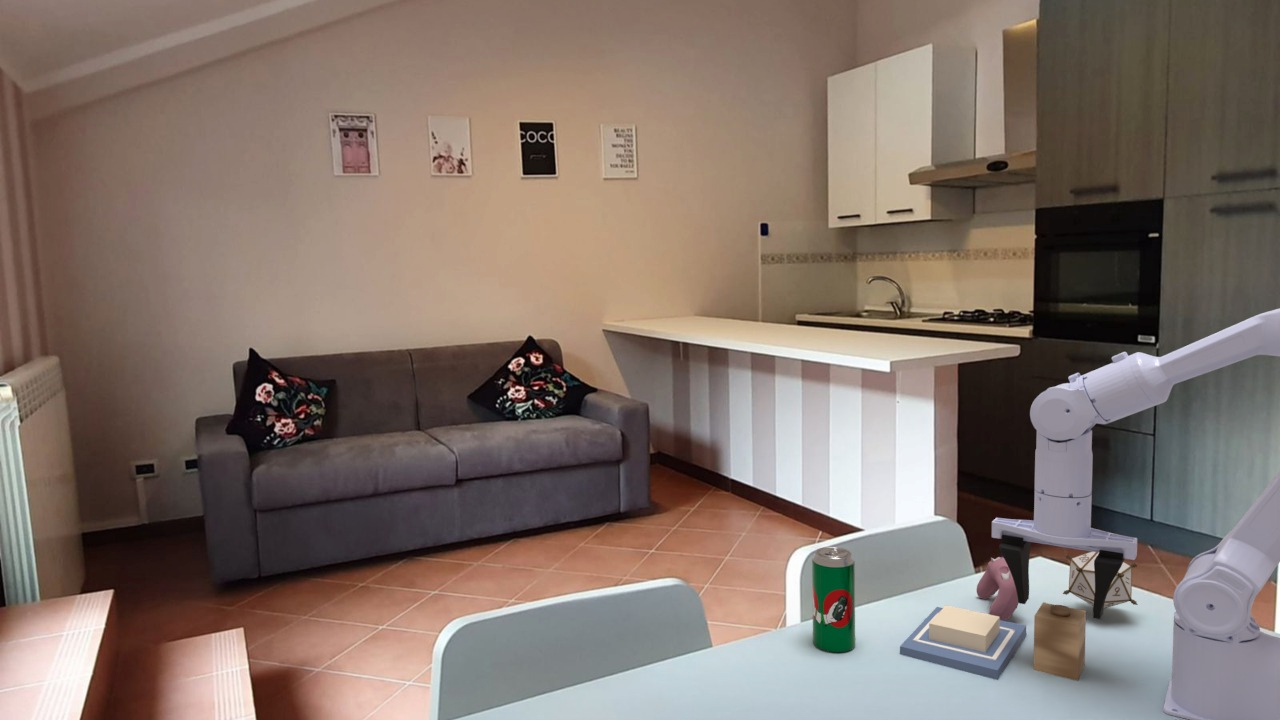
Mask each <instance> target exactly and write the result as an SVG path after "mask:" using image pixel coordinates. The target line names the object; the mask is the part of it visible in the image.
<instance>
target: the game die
mask: <svg viewBox="0 0 1280 720" xmlns="http://www.w3.org/2000/svg"><path fill="white" fill-rule="evenodd" d="M1098 554H1099V553H1098V552H1092V551H1087V552H1085V553H1082V554H1079V555H1077V556H1076V555H1075V556H1073V557H1071V555H1069V554H1064V556H1065V559H1067V560H1069V575H1068V577H1069V578H1068V589H1066V590H1063V593H1062V594H1063V595H1066V596H1067V595H1069V594H1070V593H1071V594H1072V595H1073V596H1075V597H1077V598H1079V599H1081V600H1082V601H1084V602H1086V603H1087V604H1089V605H1090V606H1092V607H1093V605H1094V596H1095V570H1094V560H1095V559H1096V557H1097V556H1098ZM1138 565H1139V563H1136V562H1133V563H1131V564H1129V563H1128V562H1125V561H1124V562H1123V564H1122V566H1121V568H1120V569H1119V571H1118V573H1117V574H1116V576H1115V578H1114V579H1113V581H1112V583H1111V585H1110V588H1109V590H1108V593H1107V596H1106V599H1105V603H1104V609H1106V608H1111V607H1114V606H1118V605H1122V604H1125V603H1128V602H1130V604H1132V605H1137V606H1138V603H1137V600H1135V599H1132V590H1133V589H1132V587H1133V585H1132V584H1133V581H1132V579H1133V568H1137V566H1138Z"/></svg>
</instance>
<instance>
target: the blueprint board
mask: <svg viewBox="0 0 1280 720" xmlns="http://www.w3.org/2000/svg"><path fill="white" fill-rule="evenodd" d="M1026 636H1027V625H1025V624H1020V623H1016V622H1011V621H1007V620H1006V621H1002V620H1000V617H999V616H994V615H990V614H989V613H984V612H979V611H974V610H970V609H965V608H960V607H957V606H950V605H944V607H940V606H936V607H935V608H934V609H933V611H931V612H930V614H929V615H928V616H927V617H926V618H925V619H923V621H922V622H921V623H920V624H919V625H918V627H917V628H915V630H914V631H912V633H910V634H909V636H908V637H907V638H906V639H905V640H904V642H903V643H901V645H900V646H899V655H901V656H906V657H909V658H913V659H917V660H921V661H925V662H929V663H931V664H932V663H933V664H936V665H940V666H943V667H947V668H952V669H955V670H958V671H962V672H967V673H971V674H972V675H973V674H974V675H979V676H982V677H986V678H988V679H993V680H999V678H1000V677H1001V676H1002V673H1003V672H1004V671H1005V668H1007V666H1008V665H1009V662H1011V660H1012V659H1013V657H1014V655H1015V653H1017V650H1018V649H1019V647H1020V646H1021V644H1022V642H1023V641H1024V639H1025V638H1026Z"/></svg>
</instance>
